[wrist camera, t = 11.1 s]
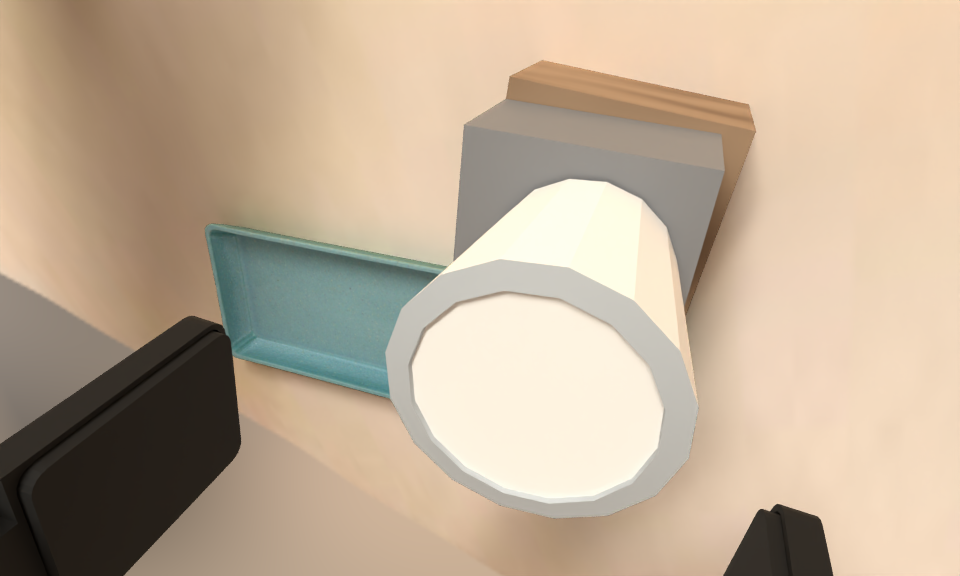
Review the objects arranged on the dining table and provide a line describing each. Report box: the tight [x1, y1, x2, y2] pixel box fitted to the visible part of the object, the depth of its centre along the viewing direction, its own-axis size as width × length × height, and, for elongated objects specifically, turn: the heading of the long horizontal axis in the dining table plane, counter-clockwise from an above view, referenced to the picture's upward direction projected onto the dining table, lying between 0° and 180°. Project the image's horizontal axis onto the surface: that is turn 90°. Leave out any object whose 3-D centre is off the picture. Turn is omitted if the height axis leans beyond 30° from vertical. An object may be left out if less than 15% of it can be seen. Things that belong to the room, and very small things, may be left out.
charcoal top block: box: [453, 99, 725, 306], centre depth 21 cm, size 8×8×4 cm
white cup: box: [385, 179, 699, 519], centre depth 16 cm, size 7×7×7 cm
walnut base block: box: [506, 60, 756, 316], centre depth 25 cm, size 8×8×5 cm
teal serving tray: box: [205, 224, 447, 399], centre depth 33 cm, size 26×9×2 cm, turn 87°
